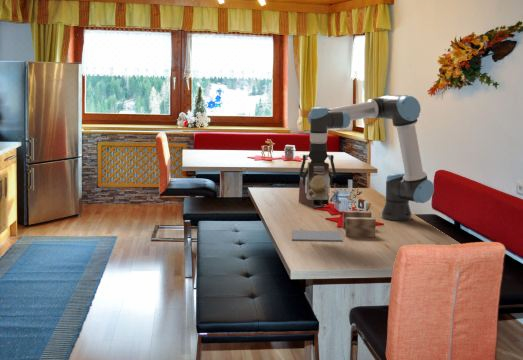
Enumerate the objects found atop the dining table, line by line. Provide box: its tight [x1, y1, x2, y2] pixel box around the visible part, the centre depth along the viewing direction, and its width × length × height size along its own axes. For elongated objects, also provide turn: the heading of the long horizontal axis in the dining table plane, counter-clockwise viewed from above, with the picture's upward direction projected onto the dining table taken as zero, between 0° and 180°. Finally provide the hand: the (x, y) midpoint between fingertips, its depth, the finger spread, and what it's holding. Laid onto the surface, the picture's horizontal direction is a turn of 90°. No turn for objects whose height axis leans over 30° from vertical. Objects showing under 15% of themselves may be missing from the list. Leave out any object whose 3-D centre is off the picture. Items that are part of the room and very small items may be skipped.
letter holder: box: [298, 179, 330, 209], centre depth 378 cm, size 10×20×14 cm, turn 20°
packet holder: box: [342, 210, 377, 238], centre depth 311 cm, size 13×20×8 cm, turn 178°
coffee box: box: [306, 161, 330, 200], centre depth 298 cm, size 9×6×16 cm
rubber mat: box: [291, 229, 343, 242], centre depth 301 cm, size 22×18×1 cm
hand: (317, 192), depth 298 cm, fingers closed on coffee box, 9 cm apart
